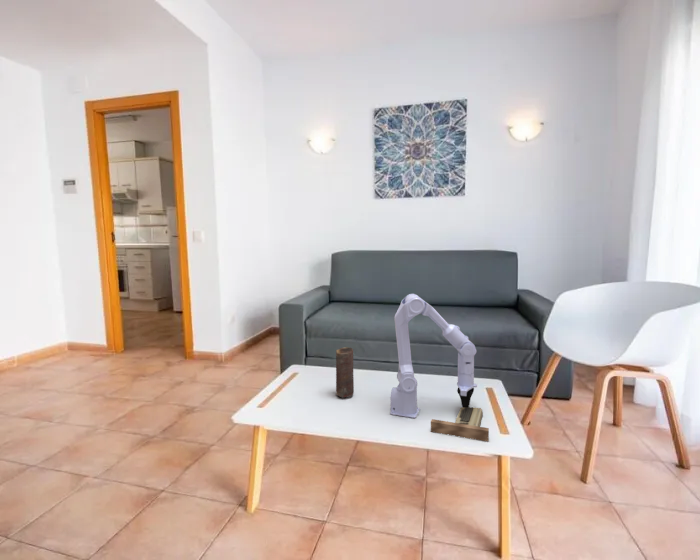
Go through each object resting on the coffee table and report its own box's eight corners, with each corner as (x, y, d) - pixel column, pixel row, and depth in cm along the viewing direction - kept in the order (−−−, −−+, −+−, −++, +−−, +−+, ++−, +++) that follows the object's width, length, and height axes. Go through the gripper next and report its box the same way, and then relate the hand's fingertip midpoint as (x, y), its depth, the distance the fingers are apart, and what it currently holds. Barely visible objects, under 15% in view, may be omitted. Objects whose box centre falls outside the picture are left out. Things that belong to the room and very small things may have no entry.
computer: (459, 412, 139) (460, 403, 139) (482, 416, 136) (483, 407, 136) (452, 432, 125) (452, 422, 125) (478, 436, 122) (478, 427, 121)
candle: (357, 396, 155) (356, 349, 153) (343, 401, 151) (342, 352, 149) (346, 391, 161) (345, 345, 159) (332, 395, 157) (331, 348, 155)
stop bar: (430, 431, 125) (430, 421, 124) (432, 428, 127) (431, 419, 126) (488, 441, 118) (488, 431, 117) (488, 438, 119) (488, 428, 119)
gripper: (475, 379, 130) (475, 417, 131) (478, 366, 143) (478, 401, 144) (454, 377, 132) (454, 414, 134) (459, 365, 146) (459, 398, 147)
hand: (465, 407), depth 139 cm, fingers closed
